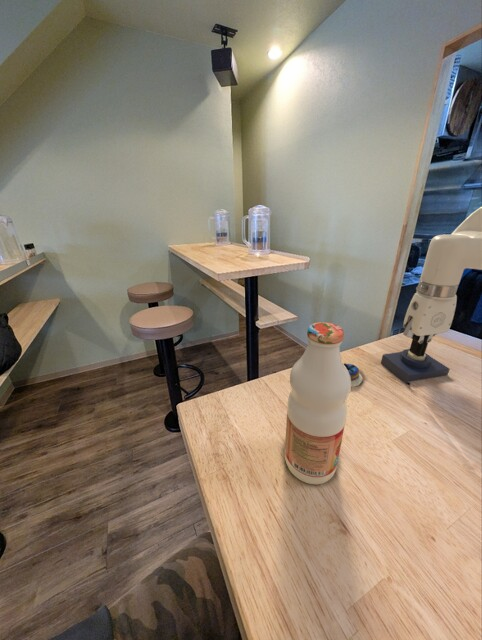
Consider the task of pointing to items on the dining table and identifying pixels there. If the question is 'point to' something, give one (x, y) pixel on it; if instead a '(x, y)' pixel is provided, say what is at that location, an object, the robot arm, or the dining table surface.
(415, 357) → the push cap
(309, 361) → the fruit juice
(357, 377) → the dessert
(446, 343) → the dining table surface
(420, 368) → the push cap base
